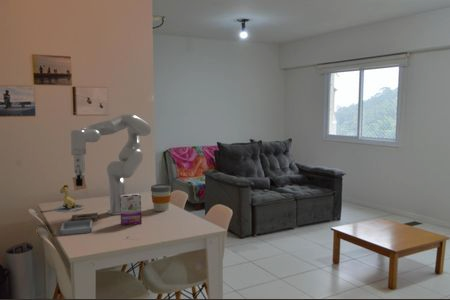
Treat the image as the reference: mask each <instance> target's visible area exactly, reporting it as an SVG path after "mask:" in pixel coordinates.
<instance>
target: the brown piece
mask: <svg viewBox="0 0 450 300" xmlns="http://www.w3.org/2000/svg"><path fill="white" fill-rule="evenodd" d="M98 215H99V213H98V212H92V213H80V214H72V215H71V218H70V222H71V221H82V220H92V222H97V221H98V220H99V219H98V217H99V216H98Z"/></svg>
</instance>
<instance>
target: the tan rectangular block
mask: <svg viewBox="0 0 450 300" xmlns="http://www.w3.org/2000/svg"><path fill="white" fill-rule="evenodd" d="M71 180H72V183H73V187H74V188H73V189H74V191H80V190H84V189H85V190H86V189H87V187H88V186H87V182H86V178H85V175H83V174H82V186H76V176H74V177H72V179H71Z"/></svg>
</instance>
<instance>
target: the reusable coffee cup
mask: <svg viewBox="0 0 450 300" xmlns="http://www.w3.org/2000/svg"><path fill="white" fill-rule="evenodd" d="M150 191H151V201H152V203H153V210H154V211H156V212H165V211H168V210H169V208H170V202H171V192H172V187H171V184H166V183H159V184H153V185H150Z"/></svg>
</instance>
